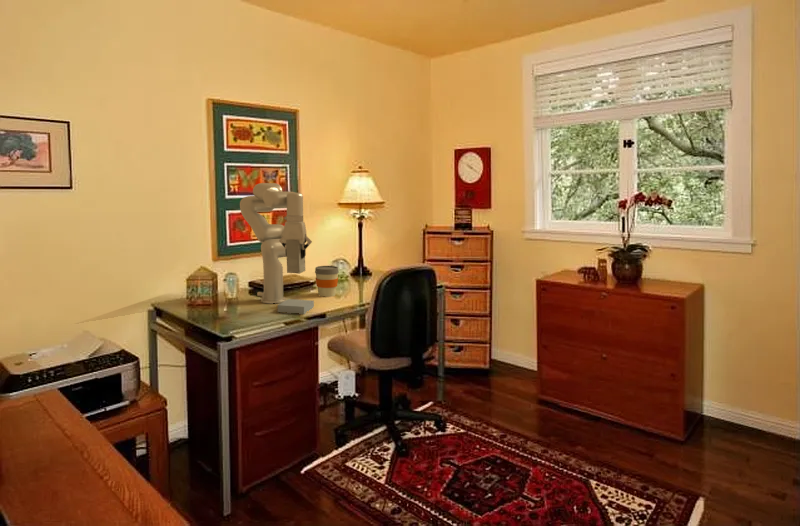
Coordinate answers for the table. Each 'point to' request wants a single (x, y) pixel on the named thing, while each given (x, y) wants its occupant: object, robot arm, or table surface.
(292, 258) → the skincare box
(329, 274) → the reusable coffee cup
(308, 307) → the slate block
